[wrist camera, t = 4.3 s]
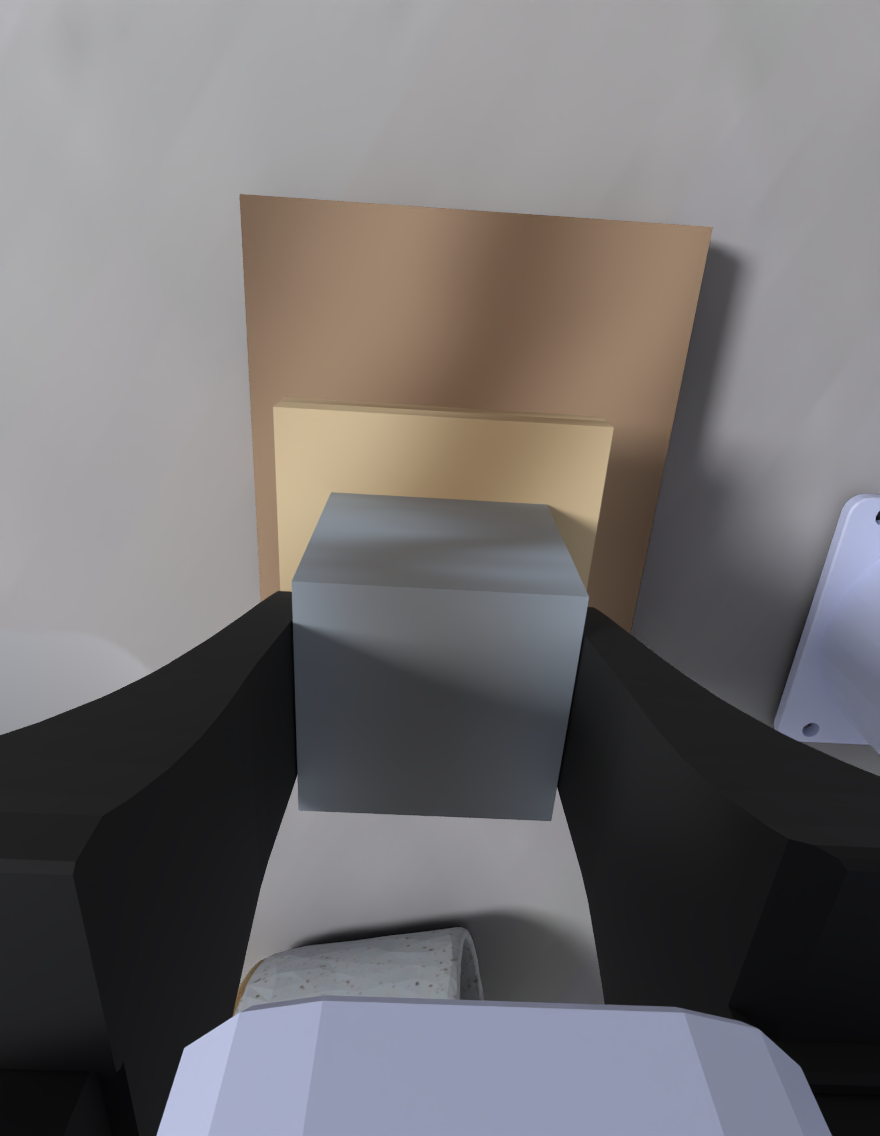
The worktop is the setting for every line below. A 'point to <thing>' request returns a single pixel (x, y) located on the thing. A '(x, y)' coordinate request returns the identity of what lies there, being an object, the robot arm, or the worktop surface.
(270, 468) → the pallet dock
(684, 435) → the worktop surface
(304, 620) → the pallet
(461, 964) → the ceramic mug
